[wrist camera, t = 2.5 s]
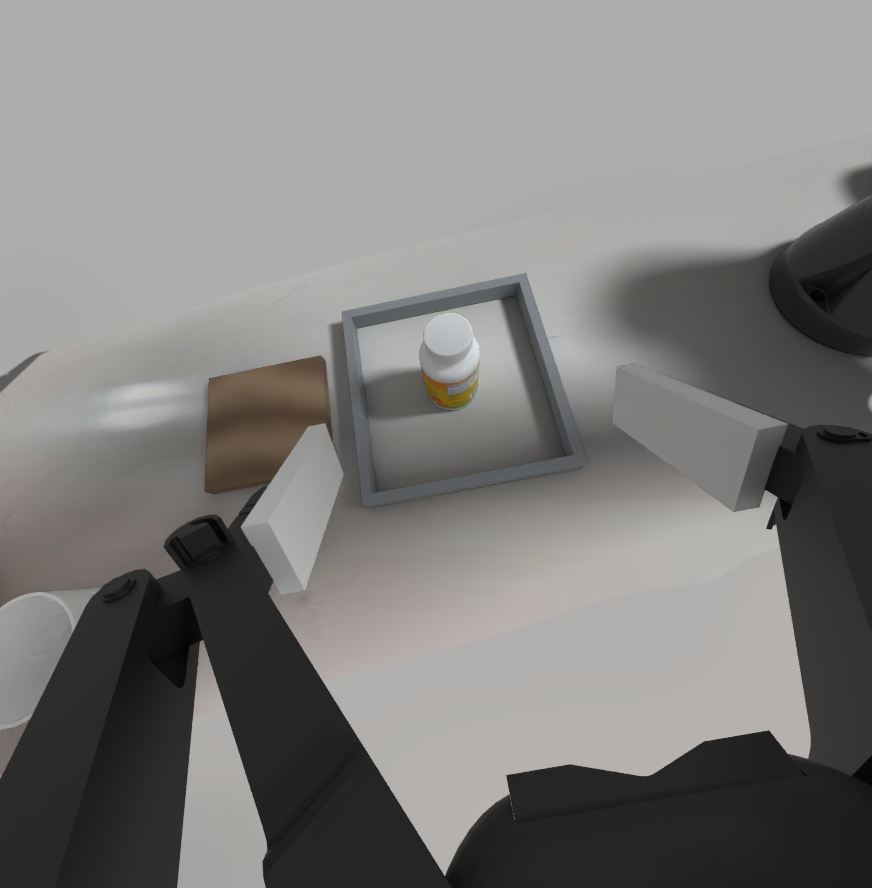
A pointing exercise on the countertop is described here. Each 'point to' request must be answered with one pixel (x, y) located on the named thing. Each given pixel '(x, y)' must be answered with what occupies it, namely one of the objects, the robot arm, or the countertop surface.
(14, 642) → the white cup
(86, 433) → the countertop surface
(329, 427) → the walnut board
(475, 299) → the tray frame
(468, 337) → the supplement bottle
